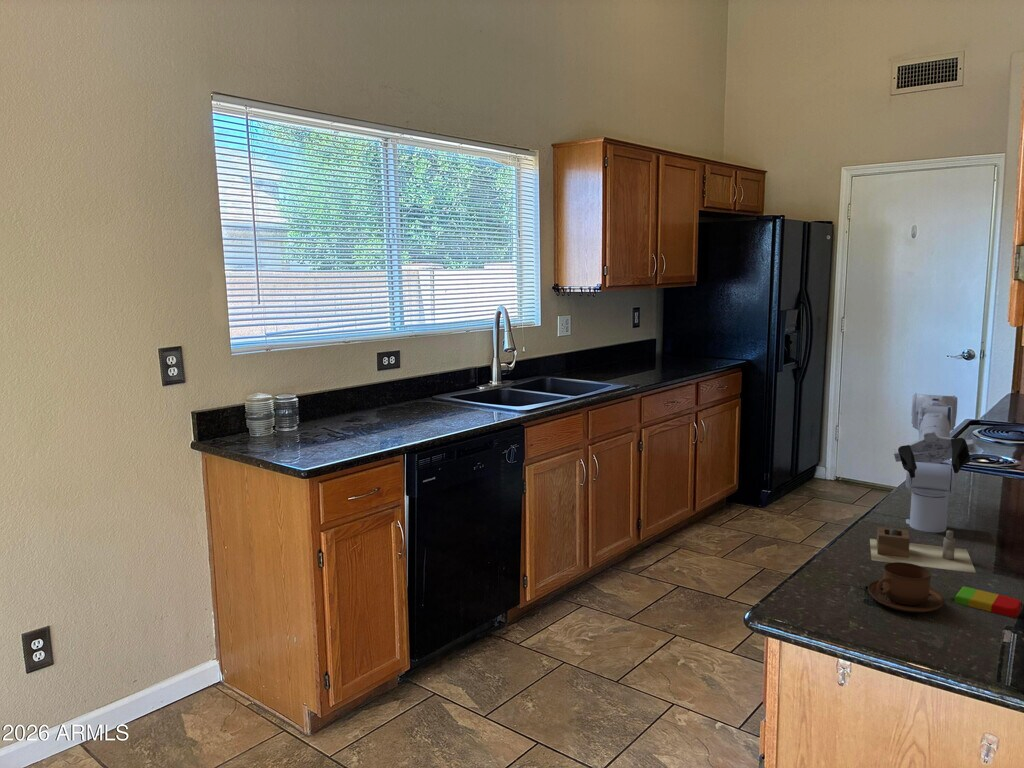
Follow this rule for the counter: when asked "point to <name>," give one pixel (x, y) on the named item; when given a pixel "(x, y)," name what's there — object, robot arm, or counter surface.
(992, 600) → the popsicle
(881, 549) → the collar
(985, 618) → the counter surface
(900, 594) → the cup and saucer
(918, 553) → the fitting board
